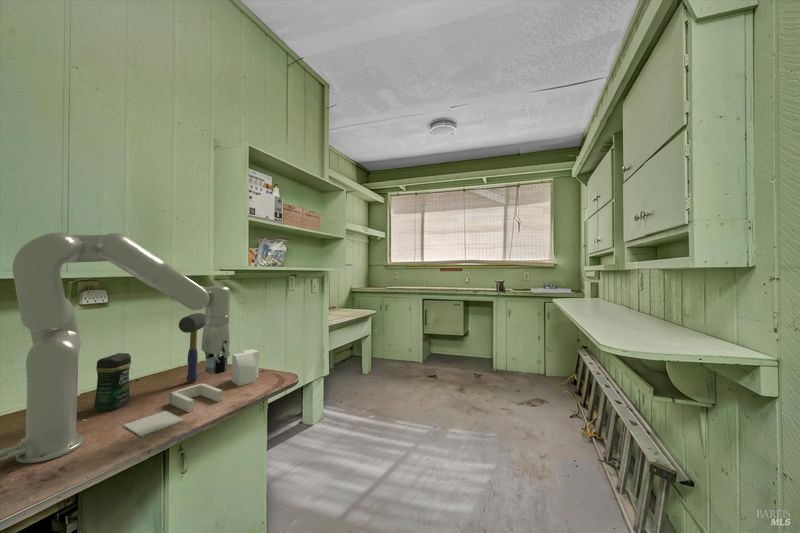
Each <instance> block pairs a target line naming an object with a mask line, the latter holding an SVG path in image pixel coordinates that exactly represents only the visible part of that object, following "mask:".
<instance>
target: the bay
mask: <svg viewBox="0 0 800 533" xmlns="http://www.w3.org/2000/svg"><path fill="white" fill-rule="evenodd" d="M199 396H202V397H204V398H206V399H207V398H208V399H210V400H212V401H215V402H217V403H220V402H222V401H223V389H220V388H218V387H215V386H212V385H210V384H206V383H203V382H202V383H198V384H194V385H191V386H188V387H184V388H181V389H177V390H174V391H171V392H169V397H168V398H169V399H168V404H169V403H170V404H169V405H171V406H174V407H176V408H178V409H180V410H182V411H184V410H185V412H187V413H192V412H194V405H195V404H194V401H195V400H194V399H193V398H196V397H199ZM191 411H192V412H191Z"/></svg>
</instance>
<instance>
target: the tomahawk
mask: <svg viewBox="0 0 800 533" xmlns="http://www.w3.org/2000/svg"><path fill="white" fill-rule="evenodd" d="M205 373H206V372H205V370H202V371H200V372H198V373H197V378H198V377H200V375H202V374H205Z"/></svg>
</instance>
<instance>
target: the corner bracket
mask: <svg viewBox="0 0 800 533" xmlns="http://www.w3.org/2000/svg"><path fill="white" fill-rule="evenodd" d="M231 357H232V358H231V380H230V381H231V382H232V383H234V384H235V385H237V386H238V387H239V386H240V387H241V386H245V385H248V384H252V383H256V382H257V377H258V378H259V369H260V368H259V367H260V351H259V350H256V349H254V348H252V349H245V350H241V352H239V353H234V354H232V356H231Z"/></svg>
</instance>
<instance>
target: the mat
mask: <svg viewBox="0 0 800 533" xmlns="http://www.w3.org/2000/svg"><path fill="white" fill-rule="evenodd" d="M184 421H185V419H184V418H181V417H180V416H177V415H176V414H174V413H172V412H169V411H167V410H163V411H161V412H158V413H155V414H152V415H149V416H146V417H143V418H139V419H137V420H134V421H131V422H128V423H124V424H123V427H124V428H126V429H127V428H128V429H127V430H129V431H131V432H133V434H135V433H136V435H137V436H139V437H140V436H141V437H145V436H147V435H146V434H148V435H150V434H152V433H151V432H153V433H155V432H154V431H156V432H158V431H161V430H163V428H164V429H166V428H169V427H171V426H174V425H177V424H180V423H182V422H184ZM168 426H169V427H168ZM160 429H161V430H160ZM157 430H158V431H157ZM149 433H150V434H149ZM144 435H145V436H144ZM141 437H140V438H141Z"/></svg>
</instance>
